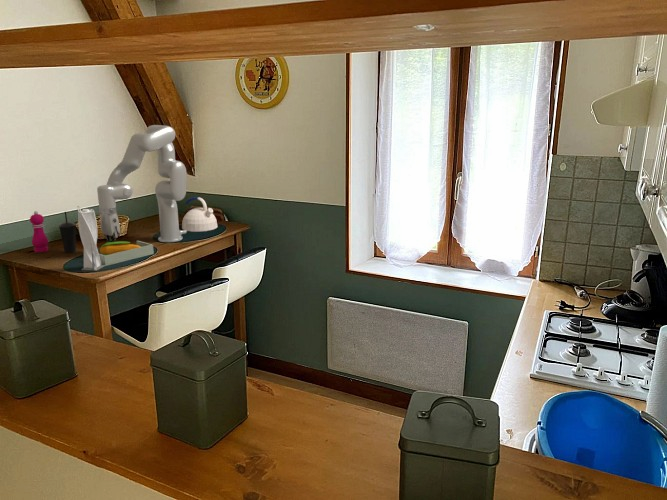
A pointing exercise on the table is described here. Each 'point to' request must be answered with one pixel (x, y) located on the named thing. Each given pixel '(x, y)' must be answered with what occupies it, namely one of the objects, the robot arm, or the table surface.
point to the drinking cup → (68, 236)
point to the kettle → (199, 218)
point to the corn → (116, 247)
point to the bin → (127, 254)
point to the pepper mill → (38, 233)
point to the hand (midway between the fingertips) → (112, 248)
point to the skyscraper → (89, 239)
